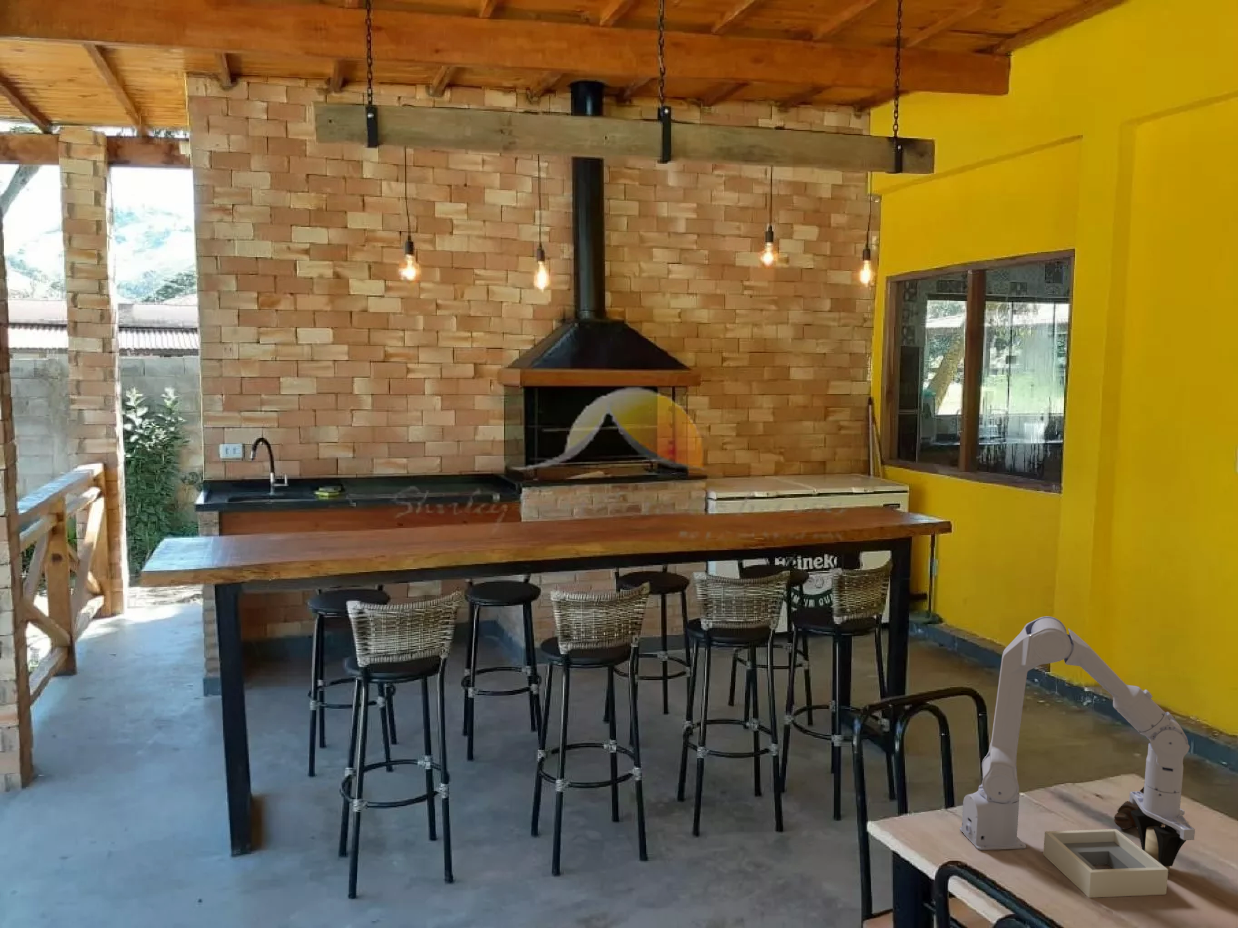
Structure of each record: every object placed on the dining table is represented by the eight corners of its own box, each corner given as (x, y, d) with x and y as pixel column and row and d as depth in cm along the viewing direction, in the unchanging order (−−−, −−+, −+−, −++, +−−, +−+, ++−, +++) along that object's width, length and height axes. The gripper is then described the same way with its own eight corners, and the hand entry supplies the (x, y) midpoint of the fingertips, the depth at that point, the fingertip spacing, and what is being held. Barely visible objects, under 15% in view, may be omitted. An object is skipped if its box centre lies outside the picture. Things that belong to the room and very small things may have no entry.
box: (1088, 897, 156) (1090, 872, 155) (1043, 854, 170) (1044, 831, 169) (1166, 894, 157) (1168, 869, 157) (1114, 852, 171) (1116, 828, 171)
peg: (1153, 875, 163) (1156, 837, 163) (1138, 863, 167) (1141, 826, 166) (1174, 874, 164) (1177, 836, 163) (1159, 862, 168) (1162, 825, 167)
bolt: (1116, 838, 180) (1149, 814, 189) (1140, 835, 176) (1173, 810, 185) (1102, 808, 182) (1135, 785, 191) (1126, 804, 178) (1159, 781, 187)
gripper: (1213, 804, 157) (1207, 879, 158) (1156, 768, 171) (1151, 837, 173) (1175, 805, 156) (1169, 881, 158) (1120, 769, 171) (1115, 838, 172)
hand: (1157, 858), depth 165 cm, fingers closed on peg, 4 cm apart
